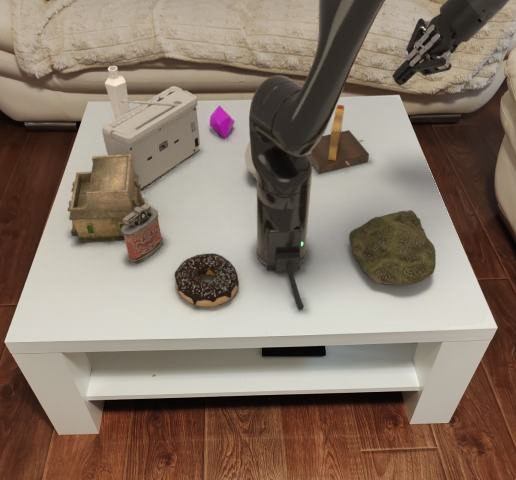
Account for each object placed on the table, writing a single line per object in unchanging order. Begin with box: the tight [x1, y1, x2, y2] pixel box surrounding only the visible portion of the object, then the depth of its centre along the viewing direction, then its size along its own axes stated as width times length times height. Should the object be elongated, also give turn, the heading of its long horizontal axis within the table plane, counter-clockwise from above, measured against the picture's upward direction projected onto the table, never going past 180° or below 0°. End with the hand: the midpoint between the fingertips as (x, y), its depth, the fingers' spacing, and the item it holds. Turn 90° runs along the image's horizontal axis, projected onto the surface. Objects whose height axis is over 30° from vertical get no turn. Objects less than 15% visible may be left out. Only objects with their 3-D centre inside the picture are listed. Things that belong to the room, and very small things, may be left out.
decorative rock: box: [348, 209, 437, 286], centre depth 103 cm, size 15×16×10 cm
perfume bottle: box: [104, 65, 131, 119], centre depth 128 cm, size 5×4×15 cm
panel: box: [307, 129, 370, 174], centre depth 127 cm, size 14×14×2 cm
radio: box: [101, 85, 201, 190], centre depth 118 cm, size 21×8×20 cm, turn 141°
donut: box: [174, 252, 240, 308], centre depth 102 cm, size 11×12×4 cm
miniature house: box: [67, 154, 147, 244], centre depth 110 cm, size 15×14×11 cm
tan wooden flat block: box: [328, 104, 345, 161], centre depth 123 cm, size 10×2×7 cm, turn 168°
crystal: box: [209, 105, 235, 139], centre depth 132 cm, size 5×5×5 cm
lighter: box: [121, 202, 164, 265], centre depth 105 cm, size 8×3×10 cm, turn 141°
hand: (396, 81), depth 107 cm, fingers closed
